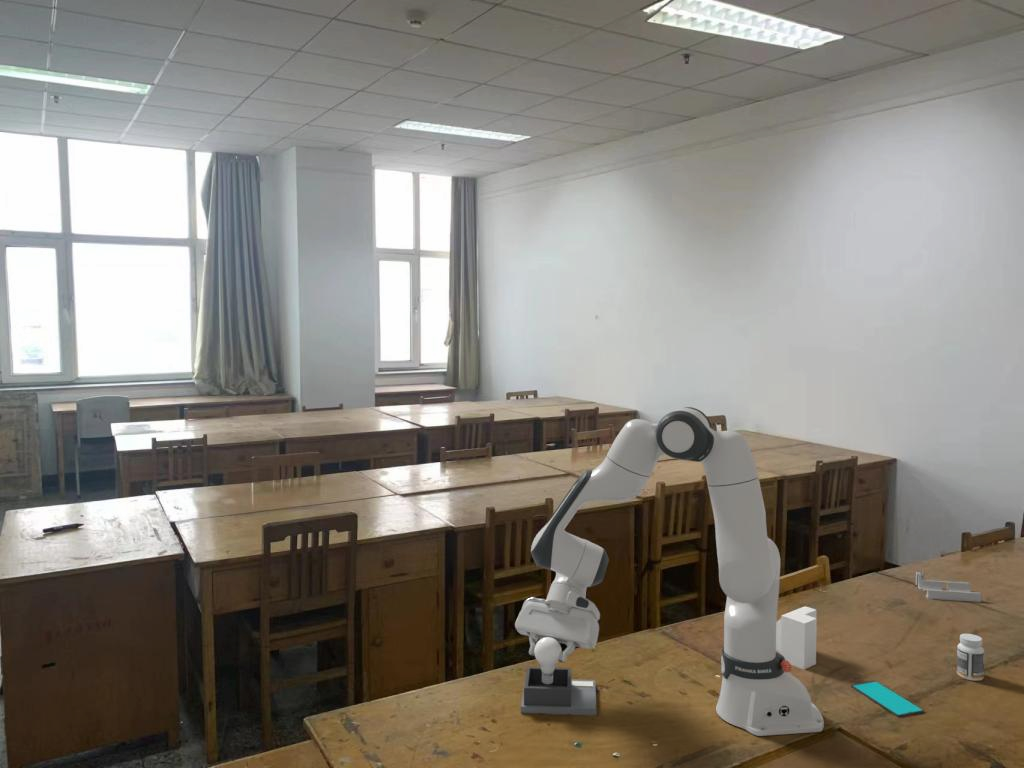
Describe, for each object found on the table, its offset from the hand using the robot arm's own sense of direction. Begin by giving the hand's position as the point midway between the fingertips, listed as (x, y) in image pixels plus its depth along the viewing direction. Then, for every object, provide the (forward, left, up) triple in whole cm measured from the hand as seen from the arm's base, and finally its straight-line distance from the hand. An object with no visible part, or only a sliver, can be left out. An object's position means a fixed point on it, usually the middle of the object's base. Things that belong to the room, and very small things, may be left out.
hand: (546, 658), depth 172 cm
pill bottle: (-103, -19, -11) cm, 106 cm away
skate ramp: (-126, -80, -11) cm, 150 cm away
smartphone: (-78, -6, -11) cm, 79 cm away
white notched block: (-64, -28, -11) cm, 71 cm away
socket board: (-3, -1, -10) cm, 11 cm away
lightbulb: (0, -1, -7) cm, 7 cm away
